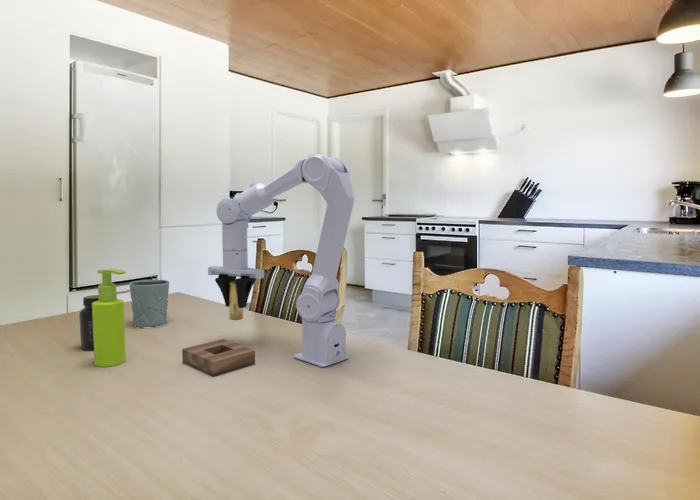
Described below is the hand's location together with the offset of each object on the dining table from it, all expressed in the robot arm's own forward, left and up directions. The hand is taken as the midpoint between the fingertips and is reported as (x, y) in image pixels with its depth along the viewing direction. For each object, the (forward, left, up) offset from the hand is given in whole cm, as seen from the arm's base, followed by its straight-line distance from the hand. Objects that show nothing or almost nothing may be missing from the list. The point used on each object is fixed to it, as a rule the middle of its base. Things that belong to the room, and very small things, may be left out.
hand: (236, 306), depth 109 cm
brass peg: (0, 0, -3) cm, 3 cm away
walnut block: (-8, +10, -9) cm, 16 cm away
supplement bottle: (+23, +23, -10) cm, 34 cm away
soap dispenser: (+9, +25, -10) cm, 28 cm away
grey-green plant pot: (+34, +5, -10) cm, 36 cm away
